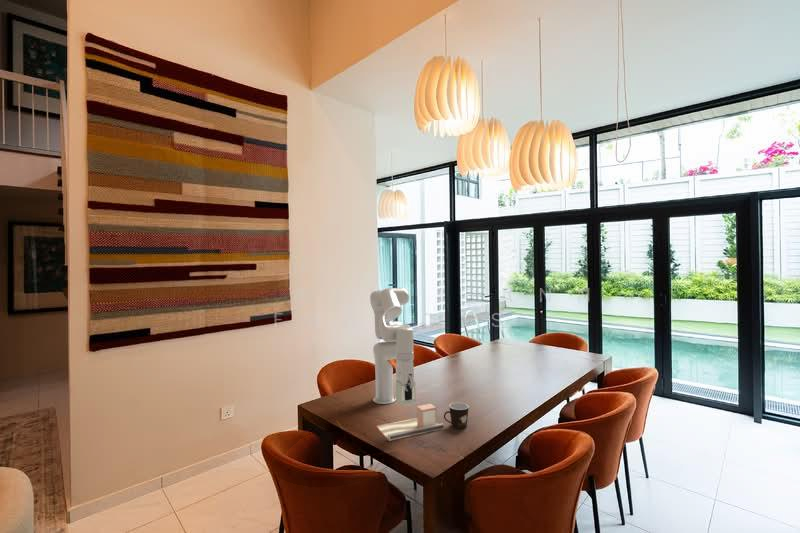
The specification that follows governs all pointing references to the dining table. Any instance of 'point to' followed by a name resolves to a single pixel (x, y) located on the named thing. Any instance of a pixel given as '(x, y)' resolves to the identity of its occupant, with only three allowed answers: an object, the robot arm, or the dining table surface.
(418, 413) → the pink rectangular block
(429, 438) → the dining table surface
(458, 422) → the coffee mug
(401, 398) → the green tin
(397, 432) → the shelf board
